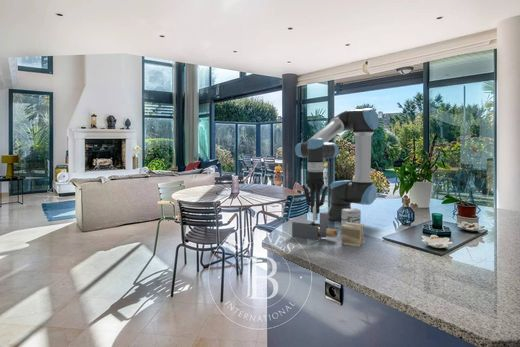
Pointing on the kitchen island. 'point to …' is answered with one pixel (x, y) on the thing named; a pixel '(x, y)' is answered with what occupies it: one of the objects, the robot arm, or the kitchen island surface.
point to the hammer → (326, 226)
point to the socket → (352, 234)
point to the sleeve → (305, 229)
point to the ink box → (350, 216)
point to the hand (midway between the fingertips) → (315, 219)
